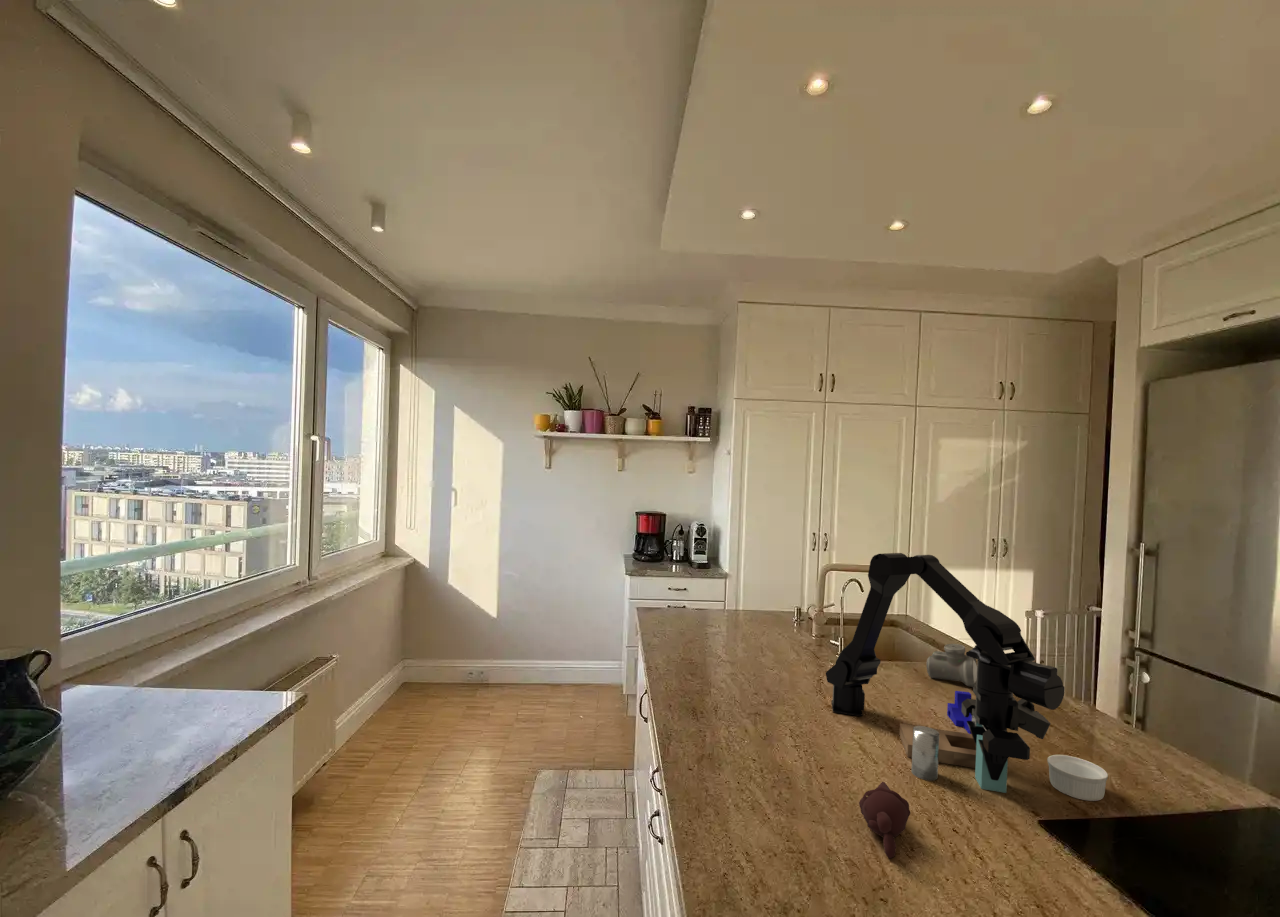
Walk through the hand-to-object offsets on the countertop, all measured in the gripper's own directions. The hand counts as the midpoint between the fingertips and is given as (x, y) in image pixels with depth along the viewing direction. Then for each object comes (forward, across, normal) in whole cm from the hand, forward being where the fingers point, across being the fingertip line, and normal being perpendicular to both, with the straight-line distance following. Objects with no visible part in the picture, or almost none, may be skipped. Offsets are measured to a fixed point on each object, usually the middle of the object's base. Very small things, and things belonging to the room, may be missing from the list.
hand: (990, 773), depth 108 cm
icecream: (+2, -22, +21) cm, 30 cm away
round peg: (+2, 0, +11) cm, 11 cm away
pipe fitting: (+2, +57, -6) cm, 57 cm away
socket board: (+2, +11, +5) cm, 12 cm away
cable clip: (+2, +26, -2) cm, 26 cm away
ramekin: (+2, +4, -15) cm, 16 cm away
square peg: (+2, 0, 0) cm, 2 cm away
